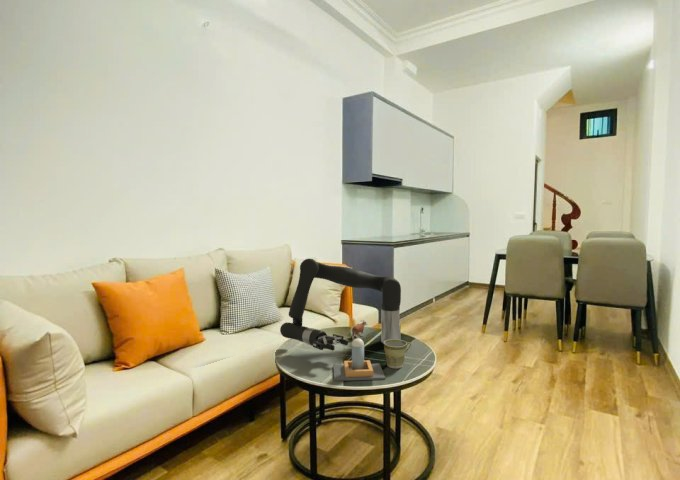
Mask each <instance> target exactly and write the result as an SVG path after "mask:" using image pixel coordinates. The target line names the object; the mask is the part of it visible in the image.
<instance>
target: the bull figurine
mask: <svg viewBox="0 0 680 480" xmlns="http://www.w3.org/2000/svg"><path fill="white" fill-rule="evenodd" d="M366 326H368V323H367V321H366V320H364V319H362V320H360V321H359V322H358V323H357V324H356V325H354V326H353V327H352V329H351V334H352V335H351V337H352V338H351V339H352V340H354V339H355V338H354V336H355V337H356V338H359V339H361V338H360V336H361V337H363V334H364V330H365V327H366Z"/></svg>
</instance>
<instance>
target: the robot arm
mask: <svg viewBox="0 0 680 480" xmlns="http://www.w3.org/2000/svg"><path fill="white" fill-rule="evenodd" d="M315 279H320V280H326V281H329V282H332V283H334V284H338V285H341V286H345V287H349V288H356V289H372V290H375V291H378V292H381V293H382V300H381V301H382V302H381V306H380V308H381V309H380V310H381V312H380V314H381V316H380V317H381V320H380V321H381V322H380V323H381V326H380V327H381V332H380V333H381V334H380V335H381V336H380V337H381V338H380V339H381V340H380V341H381V343H382V344H383V345H384V341H386V340H389V339H399V340H402V339H401V338H402V337H401V335H402V334H401V324H400V322H401V321H400V319H401V318H400V316H401V314H400V307H401V306H400V305H401V302H402V301H401V300H402V287H401V284H400V282H399V281H398V280H397V279H396V278H394V277H393V276H384V275H377V274H372V273H369V272H367V271H366V272H365V271H363V270H360V269H356V268H351V267H346V266H339V265H329V264H324V263H320V262H319V261H316V260H315V259H313V258H306V259H304V260H303V261H302V262H301V263H300V265H299V278H298V283H297V287H296V290H295V292H294V295H293V297H292V301H291V303H290V307H289V310H288V317H290V318H291V319H292V322H287V321H286V322H284V323H283V324H281V326H280V329H279V332H280V334H281V336H282V337H283V338H288V339H291V340H296V341H299V342H302V343H304V344H307V345H308V346H312V348H314V349H317V350H319V351H323V350H329V351H332V352H333V351H335V345H337V344H338V345H339V344H340V345H344V346H348V345H349V342H348V341H349V340H348V339H345V338H344V336H343V335H339V334H335V333H334V334H332V335H328V334H327V333H326V332H325V331H324V330H321V329H316V328H313V327H307V326H303V315H304V314H305V308H306V306H307V302H308V298H309V294H310V290H311V286H312V283H313V281H314V280H315Z"/></svg>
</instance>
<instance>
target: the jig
mask: <svg viewBox="0 0 680 480" xmlns="http://www.w3.org/2000/svg"><path fill="white" fill-rule="evenodd" d="M332 366H333V367H332V369H333V380H334V382H343V381H345V382H346V381H347V382H348V381H374V380H375V381H378V380H386V376H385V373H384V371H383V369H382V367H381V366H382V365H381V363H371V360H370V359H367V360H365V359H364V369H363V370H352V360H344V361H343V364H333V365H332Z"/></svg>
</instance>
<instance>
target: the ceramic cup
mask: <svg viewBox="0 0 680 480" xmlns="http://www.w3.org/2000/svg"><path fill="white" fill-rule="evenodd" d="M408 344H409V347H408V348H407V346H408ZM411 346H412V344H411V342H410V341H405V340H403V339H401V340H399V339H389V340H386V341H384V344H383V348H384V349H383V350H384V355H385V360H386V361H385V362H386V367H389V368H391V369H401V368H403V366H404V364H405V363H404V362H405V355H406V353H407V352H408V351H409V349H411Z"/></svg>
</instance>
